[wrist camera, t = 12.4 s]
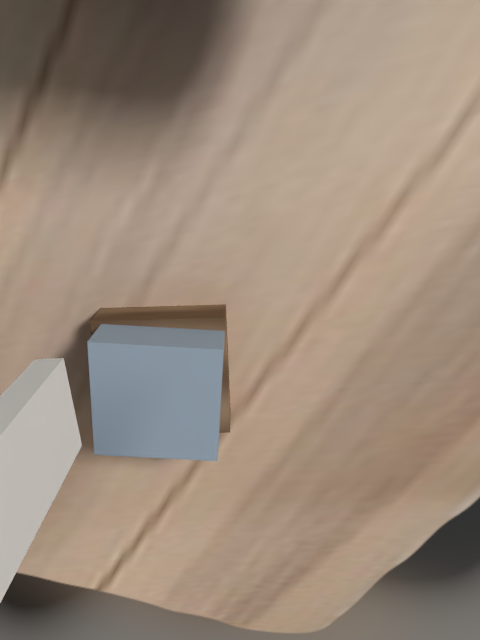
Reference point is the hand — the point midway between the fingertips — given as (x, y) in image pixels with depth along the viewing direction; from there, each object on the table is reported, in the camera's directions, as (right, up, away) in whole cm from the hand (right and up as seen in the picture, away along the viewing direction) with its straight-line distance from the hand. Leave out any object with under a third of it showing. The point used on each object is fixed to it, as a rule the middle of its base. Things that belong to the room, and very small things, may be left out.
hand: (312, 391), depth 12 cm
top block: (-9, -4, +31) cm, 32 cm away
